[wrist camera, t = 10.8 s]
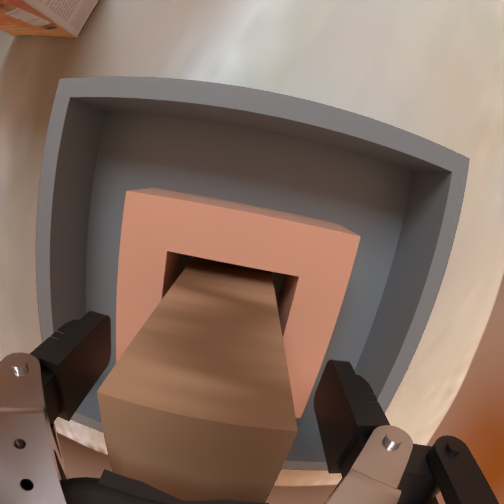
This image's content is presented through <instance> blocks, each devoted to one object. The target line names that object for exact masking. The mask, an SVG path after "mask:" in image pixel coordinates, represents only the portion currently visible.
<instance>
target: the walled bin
mask: <svg viewBox="0 0 504 504" xmlns="http://www.w3.org/2000/svg"><path fill="white" fill-rule="evenodd" d="M469 160H470V159H469V158H467V157H465V156H463V155H461V154H459V153H457V152H455V151H452V150H450V149H448V148H446V147H444V146H441V145H439V144H437V143H434V142H432V141H430V140H427V139H425V138H423V137H420V136H418V135H415V134H413V133H410V132H407V131H405V130H402V129H400V128H397V127H394V126H391V125H389V124H386V123H383V122H380V121H377V120H374V119H371V118H368V117H365V116H362V115H359V114H356V113H352V112H349V111H346V110H342V109H339V108H335V107H332V106H328V105H324V104H321V103H317V102H313V101H309V100H305V99H300V98H296V97H292V96H287V95H283V94H278V93H273V92H268V91H263V90H257V89H252V88H246V87H240V86H233V85H226V84H219V83H211V82H203V81H193V80H183V79H170V78H154V77H78V78H62V79H60V80H59V83H58V87H57V91H56V94H55V98H54V102H53V107H52V111H51V115H50V120H49V125H48V130H47V135H46V141H45V146H44V153H43V159H42V166H41V174H40V183H39V193H38V205H37V221H36V283H37V299H38V311H39V321H40V330H41V338H42V343H43V342H44V341H45V340H46V339H47V338H48V337H51V335H52V334H53V333H54V332H55V331H56V332H57V330H58V329H59V328H60V327H61V326H62V325H63V324H65V323H67V322H70V321H72V320H75V319H77V320H80V319H81V318H82V317H83V316H84V315H85V314H86V313H88V312H89V311H95V312H98V313H102V314H105V315H108V316H109V317H110V319H111V357H110V361H109V364H108V366H107V368H106V369H105V370H104V372H103V373H102V375H101V376H100V377H99V379H98V380H97V382H96V383H95V384H94V386H93V387H92V389H91V390H90V392H89V393H88V394H87V396H86V397H85V399H84V400H83V402H82V403H81V405H80V406H79V407H78V409H77V410H76V412H75V413H74V415H73V416H72V418H71V420H73V421H75V422H78V423H80V424H83V425H85V426H88V427H90V428H93V429H96V430H98V431H101V432H103V427H102V421H101V416H100V410H99V403H98V397H97V391H98V389H99V388H100V386H101V385H102V383H103V382H104V380H105V379H106V377H107V376H108V374H109V373H110V372H111V370H112V369H113V367H114V366H115V364H116V363H117V361H118V360H119V359H120V357H121V356H122V354H123V353H124V351H125V350H126V349H127V347H128V346H129V344H130V343H131V341H132V340H133V339H134V337H135V336H136V334H137V333H138V332H139V330H140V329H141V327H142V326H143V325H144V323H145V322H146V320H147V319H148V318H149V316H150V315H151V314H152V312H153V311H154V309H155V308H156V307H157V305H158V304H159V303H160V301H161V300H162V299H163V297H164V296H165V295H166V293H167V292H168V290H169V289H170V288H171V286H172V285H173V284H174V282H175V281H176V280H177V278H178V277H179V276H180V274H181V273H182V272H183V270H184V269H185V268H186V266H187V265H188V264H189V263H190V261H191V260H192V259H193V257H194V256H195V257H200V258H205V259H210V260H215V261H220V262H225V263H230V264H235V265H240V266H245V267H251V268H256V269H261V270H266V271H271V273H272V279H273V284H274V290H275V296H276V302H277V307H278V313H279V319H280V325H281V331H282V337H283V343H284V349H285V355H286V361H287V367H288V373H289V379H290V385H291V391H292V397H293V404H294V410H295V416H296V423H297V429H298V432H297V434H296V436H295V439H294V441H293V443H292V446H291V448H290V450H289V453H288V455H287V457H286V460H285V462H284V464H283V466H282V468H281V469H290V470H328V467H327V463H326V458H325V454H324V450H323V445H322V441H321V436H320V432H319V428H318V424H317V419H316V415H315V411H314V404H313V403H314V395H315V392H316V389H317V387H318V384H319V382H320V379H321V376H322V374H323V371H324V368H325V366H326V363H327V362H328V361H329V360H340V361H349V362H350V363H351V365H352V367H353V369H354V371H355V373H356V375H360V376H362V377H363V378H364V379H365V380H366V381H367V382H368V383H369V384H370V386H371V388H372V390H373V392H374V395H375V396H376V398H377V400H378V401H377V402H379V404H380V406H381V408H382V410H383V412H384V413H385V412H386V410H387V408H388V406H389V404H390V403H391V401H392V399H393V397H394V395H395V393H396V391H397V389H398V387H399V385H400V383H401V381H402V379H403V377H404V375H405V373H406V371H407V369H408V367H409V365H410V362H411V360H412V358H413V356H414V354H415V351H416V349H417V347H418V344H419V342H420V340H421V337H422V335H423V332H424V330H425V327H426V325H427V322H428V320H429V317H430V314H431V312H432V309H433V306H434V303H435V301H436V298H437V295H438V292H439V289H440V286H441V283H442V280H443V277H444V273H445V270H446V267H447V263H448V260H449V256H450V253H451V249H452V245H453V242H454V238H455V234H456V230H457V225H458V221H459V216H460V212H461V207H462V202H463V197H464V192H465V186H466V180H467V174H468V167H469Z"/></svg>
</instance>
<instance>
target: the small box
mask: <svg viewBox="0 0 504 504" xmlns="http://www.w3.org/2000/svg"><path fill="white" fill-rule="evenodd" d="M98 1H99V0H0V29H1V30H3V31H5V32H7V33H9V34H11V35H13V36H22V35H37V36H54V37H67V38H77V37H78V35H79V33H80V31H81V29H82V28H83V26H84V24H85V22H86V21H87V19H88V17H89V15H90V14H91V12H92V11H93V9H94V7H95V6H96V4H97V3H98Z"/></svg>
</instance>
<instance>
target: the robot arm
mask: <svg viewBox="0 0 504 504" xmlns="http://www.w3.org/2000/svg"><path fill="white" fill-rule="evenodd" d="M110 357H111V319H110V317H109V316H108V315H105V314H102V313H98V312H95V311H89V312H88V313H86V314H85V315H84V316H83V317H82V318H81V319H80V320H77V319H75V320H72V321H70V322H67V323H65V324H63V325H62V326H61V327H60V328H59V329H58V330H57V332H56V331H55V332H54V333H53V334H52V335H51V337H48V338H47V339H46V340H45V341H44V342H43V343H42V344H40V345H39V346H38V347H37V348H36V349H35V350H34V351H33V352H31V353H30V354H27V353H13V354H10V355H7V356H6V357H4V358H3V359H2V361H1V362H0V504H269V503H258V502H247V501H237V500H229V499H225V500H202V501H186V500H181V499H178V498H176V497H173V496H171V495H169V494H167V493H165V492H162V491H160V490H158V489H156V488H154V487H152V486H150V485H148V484H146V483H144V482H142V481H138V480H135V479H132V478H129V477H125V476H122V475H119V474H116V473H113V472H110V471H108V470H104V471H103V474H102V476H101V478H88V477H82V478H70V479H69V476H68V473H67V471H66V468H65V464H64V461H63V457H62V453H61V449H60V446H59V441H58V437H57V433H56V428H55V425H54V421H55V419H56V418H57V417H60V418H63V419H65V420H67V421H70V419H71V418H72V416H73V415H74V413H75V412H76V410H77V409H78V407H79V406H80V405H81V403H82V402H83V400H84V399H85V397H86V396H87V394H88V393H89V392H90V390H91V389H92V387H93V386H94V384H95V383H96V382H97V380H98V379H99V377H100V376H101V375H102V373H103V372H104V370H105V369H106V368H107V366H108V364H109V361H110ZM377 401H378V400H377V398H376V396H375V395H374V392H373V390H372V388H371V386H370V384H369V383H368V382H367V381H366V380H365V379H364V378H363V377H362V376H360V375H356V373H355V371H354V369H353V367H352V365H351V363H350V362H349V361H340V360H329V361H328V362H327V363H326V366H325V368H324V371H323V374H322V376H321V379H320V382H319V384H318V387H317V389H316V392H315V395H314V403H313V404H314V411H315V415H316V419H317V424H318V428H319V432H320V436H321V441H322V445H323V450H324V454H325V458H326V463H327V467H328V472H329V473H341V475H342V479H341V481H340V482H339V483H338V485H337V486H336V488H335V489H334V491H333V492H332V493H331V495H330V496H329V497H328V499H327V500H326V502H325V503H324V504H438V501H437V499H436V495H437V494H438V493H439V492H440V491H441V493H442V496H443V498H444V501H445V503H446V504H499V503H498V501H497V499H496V497H495V495H494V493H493V491H492V489H491V487H490V486H489V484H488V482H487V480H486V479H485V477H484V475H483V473H482V471H481V469H480V468H479V466H478V464H477V462H476V461H475V459H474V457H473V456H472V454H471V452H470V451H469V449H468V447H467V446H466V444H465V443H464V442H463V441H461V440H460V439H458V438H456V437H453V436H442V437H440V438H438V439H437V440H436V442H435V443H434V445H433V446H432V447H431V446H424V445H418V444H413V442H412V439H411V437H410V436H409V435H408V434H407V433H406V432H405V431H403V430H402V429H400V428H398V427H395V426H390V424H389V422H388V420H387V418H386V416H385V414H384V412H383V410H382V408H381V406H380V404H379V402H377Z"/></svg>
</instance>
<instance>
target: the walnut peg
mask: <svg viewBox="0 0 504 504" xmlns="http://www.w3.org/2000/svg"><path fill="white" fill-rule="evenodd" d="M97 397H98V403H99V410H100V416H101V421H102V427H103V432H104V437H105V442H106V447H107V451H108V456H109V460H110V464H111V467H112V472H113V473H116V474H119V475H122V476H125V477H129V478H132V479H135V480H138V481H142V482H144V483H146V484H148V485H150V486H152V487H154V488H156V489H158V490H160V491H162V492H165V493H167V494H169V495H171V496H173V497H176V498H178V499H181V500H186V501H202V500H225V499H229V500H237V501H247V502H258V503H265V502H266V500H267V498H268V496H269V494H270V492H271V489H272V487H273V485H274V483H275V481H276V479H277V477H278V475H279V473H280V471H281V468H282V466H283V464H284V462H285V460H286V457H287V455H288V453H289V450H290V448H291V446H292V443H293V441H294V439H295V436H296V434H297V432H298V429H297V423H296V416H295V410H294V404H293V397H292V391H291V385H290V379H289V373H288V367H287V361H286V355H285V349H284V343H283V337H282V331H281V325H280V319H279V313H278V307H277V302H276V296H275V290H274V284H273V279H272V273H271V271H266V270H261V269H256V268H251V267H245V266H240V265H235V264H230V263H225V262H220V261H215V260H210V259H205V258H200V257H195V256H194V257H193V259H192V260H191V261H190V263H189V264H188V265H187V266H186V268H185V269H184V270H183V272H182V273H181V274H180V276H179V277H178V278H177V280H176V281H175V282H174V284H173V285H172V286H171V288H170V289H169V290H168V292H167V293H166V295H165V296H164V297H163V299H162V300H161V301H160V303H159V304H158V305H157V307H156V308H155V309H154V311H153V312H152V314H151V315H150V316H149V318H148V319H147V320H146V322H145V323H144V325H143V326H142V327H141V329H140V330H139V332H138V333H137V334H136V336H135V337H134V339H133V340H132V341H131V343H130V344H129V346H128V347H127V349H126V350H125V351H124V353H123V354H122V356H121V357H120V359H119V360H118V361H117V363H116V364H115V366H114V367H113V369H112V370H111V372H110V373H109V374H108V376H107V377H106V379H105V380H104V382H103V383H102V385H101V386H100V388H99V389H98V391H97Z"/></svg>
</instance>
